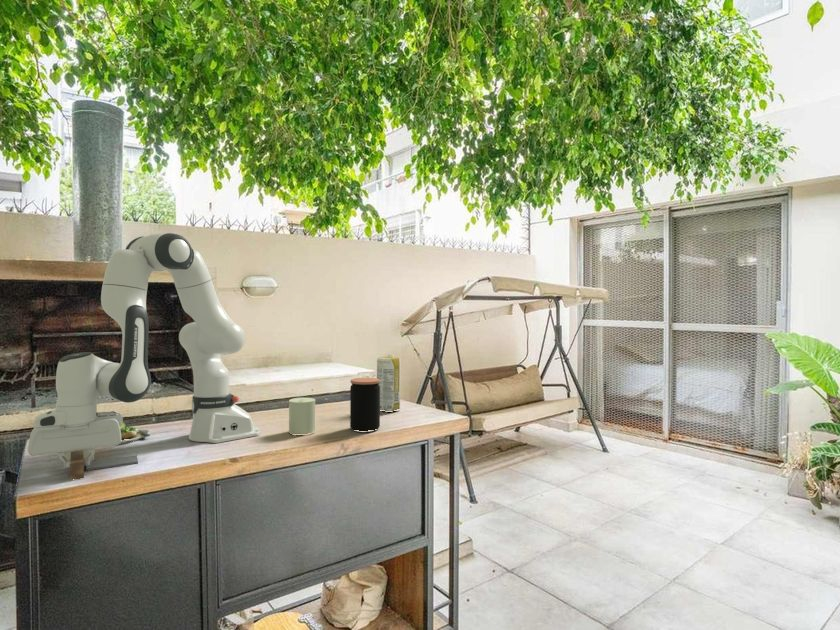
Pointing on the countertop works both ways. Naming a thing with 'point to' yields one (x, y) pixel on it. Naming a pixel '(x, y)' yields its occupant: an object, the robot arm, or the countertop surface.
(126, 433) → the plate of avocado toast
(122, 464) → the pad
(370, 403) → the coffee jar
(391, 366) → the juice carton
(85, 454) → the tile
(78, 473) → the brown long block
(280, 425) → the countertop surface
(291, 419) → the can
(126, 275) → the robot arm
